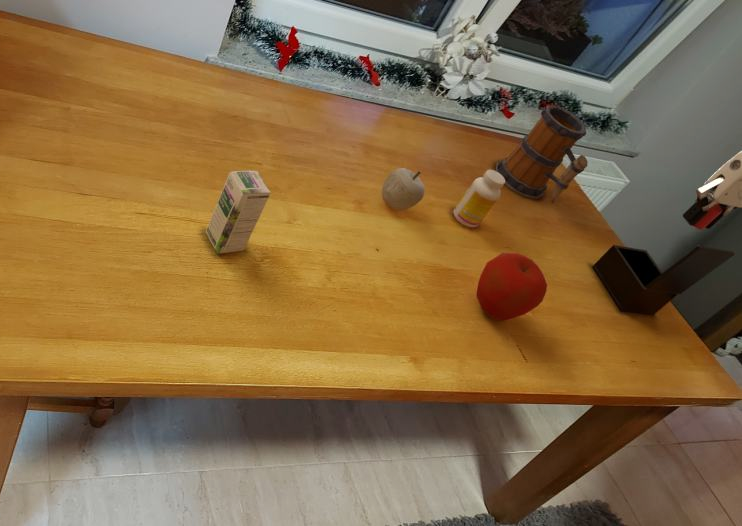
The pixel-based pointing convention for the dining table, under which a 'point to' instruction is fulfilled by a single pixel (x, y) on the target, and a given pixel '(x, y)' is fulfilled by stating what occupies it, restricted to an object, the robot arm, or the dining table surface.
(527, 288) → the apple
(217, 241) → the syrup box
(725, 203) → the robot arm
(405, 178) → the decorative object
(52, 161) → the dining table surface
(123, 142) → the dining table surface
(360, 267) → the dining table surface
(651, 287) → the lid
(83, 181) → the dining table surface
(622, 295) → the black flip-top box
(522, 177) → the mug
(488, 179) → the supplement bottle
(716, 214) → the red black block
